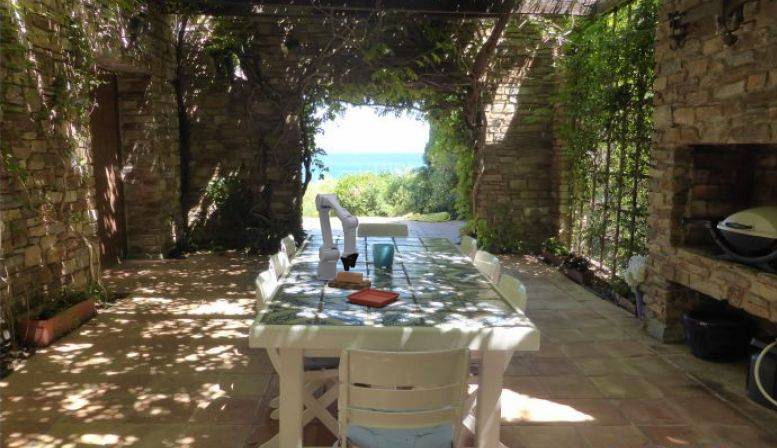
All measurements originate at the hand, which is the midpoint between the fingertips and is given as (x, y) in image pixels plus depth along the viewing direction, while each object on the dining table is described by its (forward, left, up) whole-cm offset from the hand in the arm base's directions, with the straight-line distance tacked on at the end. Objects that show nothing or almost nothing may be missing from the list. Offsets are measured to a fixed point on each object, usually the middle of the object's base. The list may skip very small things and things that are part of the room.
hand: (349, 269), depth 268 cm
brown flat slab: (0, 0, -9) cm, 9 cm away
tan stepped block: (0, 0, -9) cm, 9 cm away
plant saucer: (+19, -19, -9) cm, 29 cm away
